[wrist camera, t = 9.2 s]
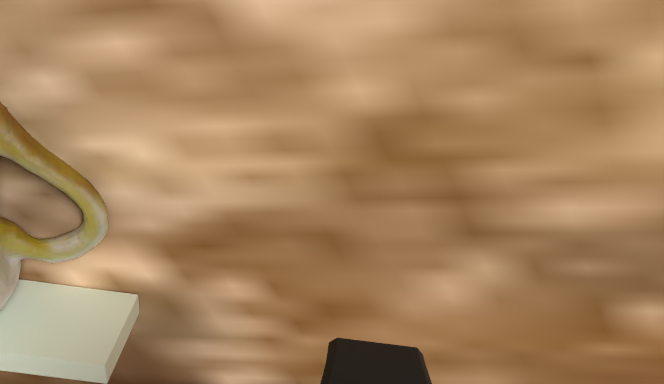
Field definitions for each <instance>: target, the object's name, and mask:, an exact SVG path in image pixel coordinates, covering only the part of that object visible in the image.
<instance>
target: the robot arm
mask: <svg viewBox="0 0 664 384" xmlns="http://www.w3.org/2000/svg"><path fill="white" fill-rule="evenodd" d="M321 384H432V383H431V380H430V377H429V374H428V371H427V368H426V365H425V361H424V358H423V354H422V353H421V352H420V351H419V350H418V348H415V347H407V346H399V345H391V344H383V343H375V342H367V341H359V340H351V339H343V338H336V339H334V340H333V341H331V342H329V346H328V353H327V360H326V365H325V369H324V373H323V377H322V380H321Z"/></svg>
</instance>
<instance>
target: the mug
mask: <svg viewBox="0 0 664 384" xmlns="http://www.w3.org/2000/svg"><path fill="white" fill-rule="evenodd" d="M0 156H3V157H5V158H8V159H10V160H12V161H14V162H16V163H18V164H19V165H20V166H22V167H23V168H24V169H26V170H28V171H30V172H32V173H34V174H35V175H37V176H39V177H41V178H43V179H44V180H46V181H47V182H49V183H50V184H52V185H54V186H56V187H57V188H58V189H60V190H61V191H63V192H64V193H65V194H67V195H68V196H69V197H70V198H71V199H73V200H74V201H75V202H76V203H77V204H78V206H79V207H80V208H81V209H82V212H83V220H84V221H83V223H82V224H81V226H80V227H79V228H77V229H75V230H73V231H71V232H68V233H66V234H64V235H61V236H59V237H55V238H49V239H38V238H34V237H32V236H30V235H28V234H27V233H26V232H25V231H23V230H22V229H21V228H20V227H19V226H17V225H16V224H15V223H13V222H11V221H9V220H7V219H5V218H2V217H0V312H1V311H2V309H3V308H4V307H5V305H6V303H7V301H8V300H9V298H10V297H11V296H12V294H13V292H14V290H15V288H16V285H17V282H18V279H19V274H20V270H21V259H24V258H30V259H37V260H41V261H47V262H50V263H56V262H63V261H67V260H72V259H76V258H78V257H80V256H82V255H83V254H85V253H86V252H88V251H89V250H91V249H92V248H93V247H95V246H96V245H97V244H99V243H100V242H101V240H102V239H103V238H104V237H105V234H106V232H107V229H108V227H109V226H108V214H107V208H106V206H105V203H104V201H103V200H102V198H101V196H100V194H99V193H98V191H97V190H96V189H95V188H94V186H93V185H92V184H91V183H90V182H89V181H88V180H87V179H85V178H84V177H83V176H82V175H81V174H79V173H78V172H77V171H76V170H75V169H73V168H72V167H71V166H69V165H68V164H66V163H65V162H64V161H62V160H61V159H60V158H58V157H57V156H55V155H54V154H53V153H51V152H50V151H48V150H47V149H46V148H45V147H43V146H42V145H41V144H40V143H39V142H38V141H36V140H35V139H34V138H33V137H32V136H31V135H30V134H29V133H28V132H27V131H26V130H25V129H24V128H23V127H22V126H21V125H20V124H19V123H18V122H17V121H16V120H15V119H14V118H13V116H12V115H11V114H10V113H9V112H8V110H7V108H6V107H5V106H4V105H3V104H2V103H1V102H0Z"/></svg>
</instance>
